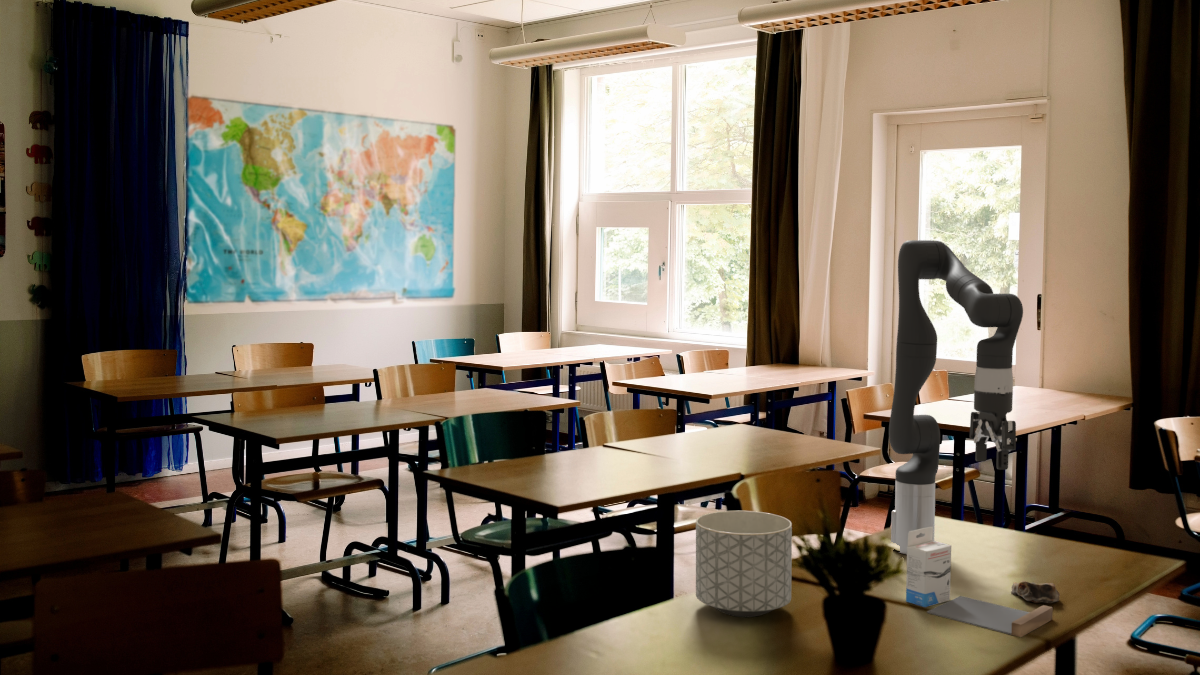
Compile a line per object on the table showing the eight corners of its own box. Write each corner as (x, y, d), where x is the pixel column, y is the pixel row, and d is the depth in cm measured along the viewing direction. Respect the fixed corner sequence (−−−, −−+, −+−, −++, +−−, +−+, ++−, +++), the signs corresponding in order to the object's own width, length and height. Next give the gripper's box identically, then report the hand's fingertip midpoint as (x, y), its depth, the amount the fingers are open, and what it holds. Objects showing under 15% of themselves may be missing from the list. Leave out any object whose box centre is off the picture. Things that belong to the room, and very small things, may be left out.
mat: (927, 612, 201) (927, 611, 201) (960, 597, 211) (960, 595, 210) (1010, 634, 189) (1010, 633, 189) (1042, 616, 198) (1042, 615, 198)
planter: (802, 625, 194) (803, 532, 193) (704, 628, 193) (704, 535, 192) (778, 594, 213) (778, 509, 212) (688, 596, 212) (689, 511, 210)
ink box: (925, 608, 204) (926, 536, 203) (905, 601, 208) (906, 531, 207) (951, 600, 209) (952, 530, 208) (931, 594, 213) (932, 525, 212)
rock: (1067, 607, 205) (1048, 583, 214) (1062, 581, 203) (1044, 558, 213) (1024, 616, 206) (1007, 592, 215) (1019, 591, 204) (1002, 567, 214)
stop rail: (1011, 634, 189) (1011, 622, 188) (1043, 617, 198) (1043, 605, 198) (1021, 637, 187) (1021, 624, 187) (1052, 619, 197) (1052, 607, 197)
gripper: (959, 385, 218) (957, 459, 219) (994, 393, 204) (992, 472, 205) (992, 384, 219) (990, 458, 220) (1029, 392, 205) (1026, 471, 206)
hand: (991, 465), depth 212 cm, fingers open, 8 cm apart
